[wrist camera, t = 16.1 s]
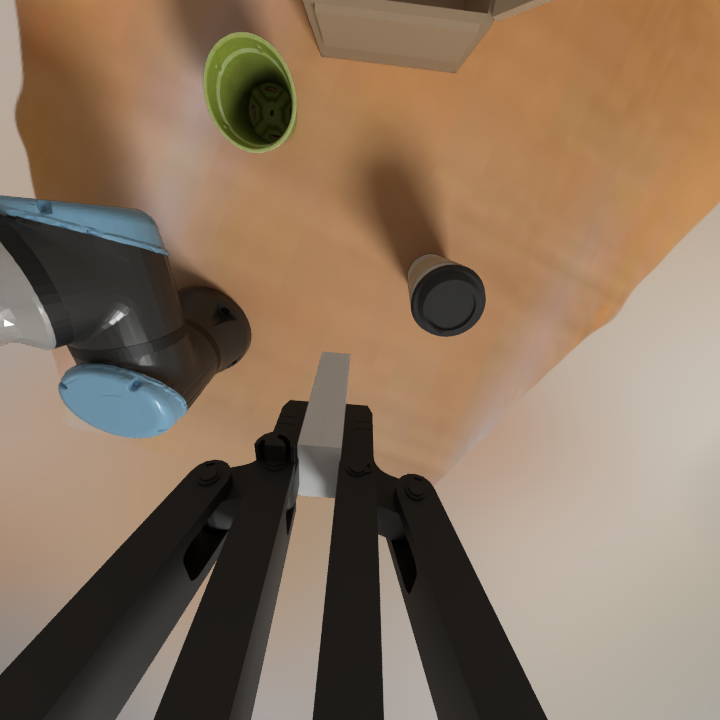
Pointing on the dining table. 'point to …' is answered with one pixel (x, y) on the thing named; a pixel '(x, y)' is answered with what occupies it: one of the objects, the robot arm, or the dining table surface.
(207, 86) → the plant pot
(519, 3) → the flap
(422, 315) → the coffee cup
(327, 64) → the dining table surface
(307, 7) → the carton
